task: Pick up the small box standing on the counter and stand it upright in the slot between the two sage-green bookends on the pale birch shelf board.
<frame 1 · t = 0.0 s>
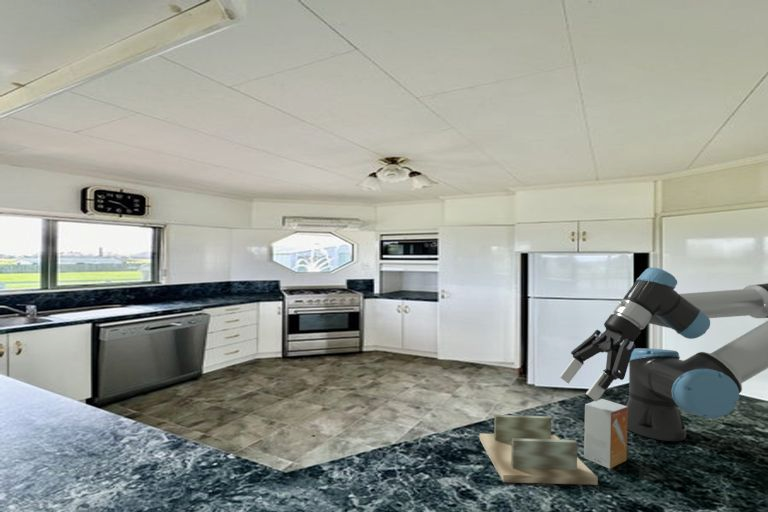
hand: (576, 388, 97), 15 cm above the countertop, tool tilted 35°, fingers open, 13 cm apart
small box: (605, 460, 92), on the countertop
bookend shelf: (532, 459, 91), on the countertop
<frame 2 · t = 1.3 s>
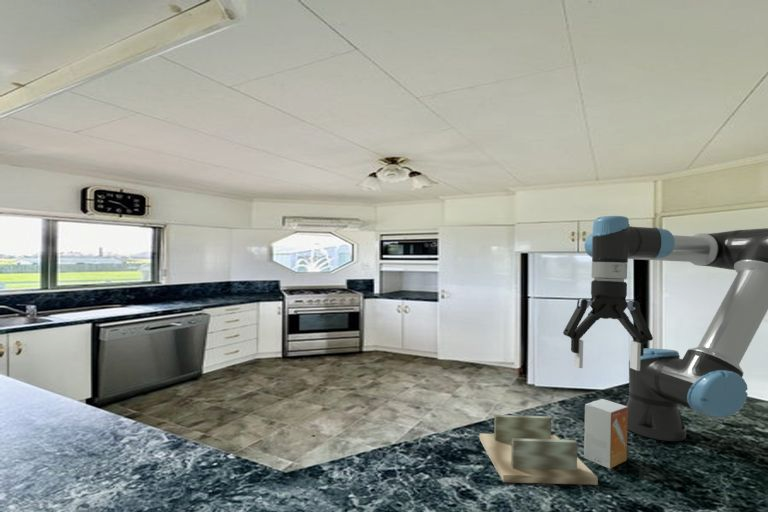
hand: (606, 368, 93), 22 cm above the countertop, tool pointing down, fingers open, 13 cm apart
nothing on the countertop moved.
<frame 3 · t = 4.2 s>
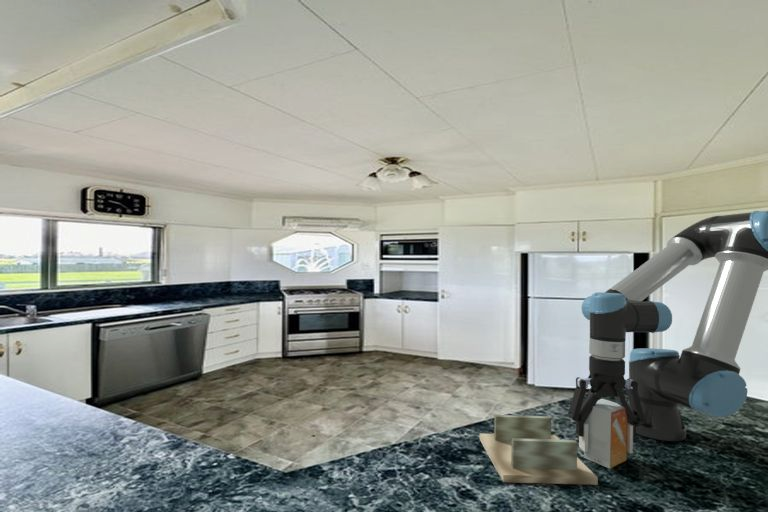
hand: (605, 450, 92), 2 cm above the countertop, tool pointing down, fingers closed on small box, 10 cm apart
small box: (605, 460, 92), on the countertop, touching gripper
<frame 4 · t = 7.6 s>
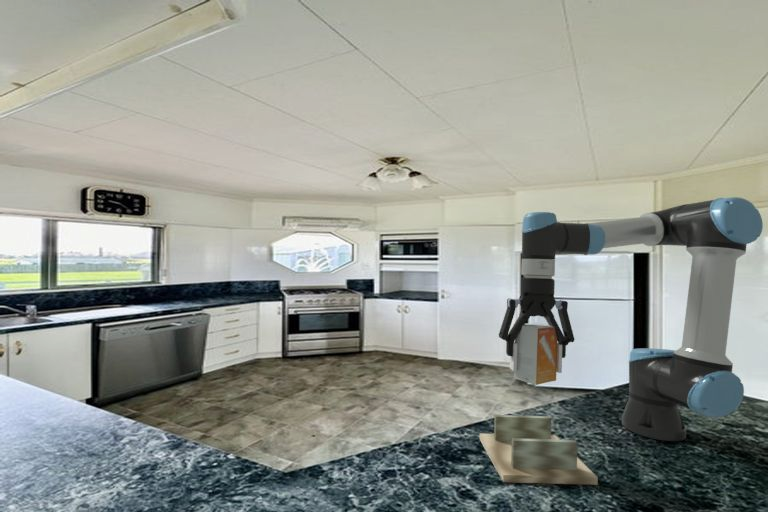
hand: (535, 370, 92), 21 cm above the countertop, tool pointing down, fingers closed on small box, 10 cm apart
small box: (535, 380, 92), point 19 cm above the countertop, touching gripper
when the fingers open (6 cm above the countertop, at t = 11.5 s): small box drops 2 cm, resting on bookend shelf.
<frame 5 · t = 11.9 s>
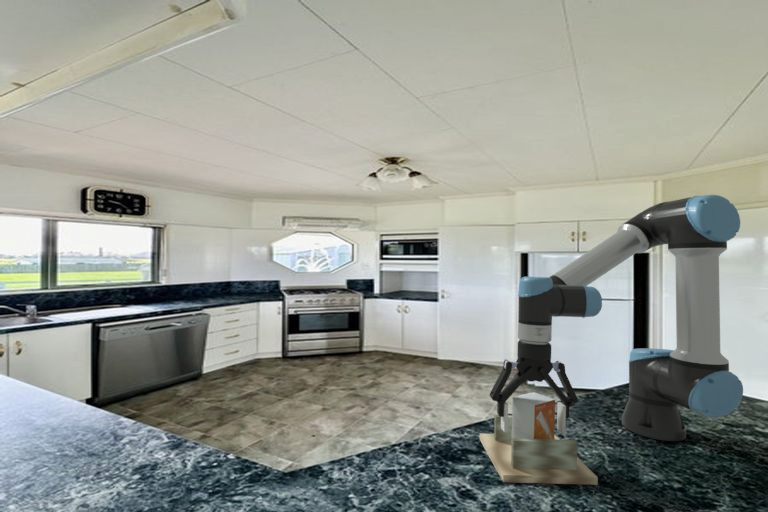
hand: (532, 431, 91), 7 cm above the countertop, tool pointing down, fingers open, 13 cm apart
small box: (532, 453, 91), point 1 cm above the countertop, touching bookend shelf
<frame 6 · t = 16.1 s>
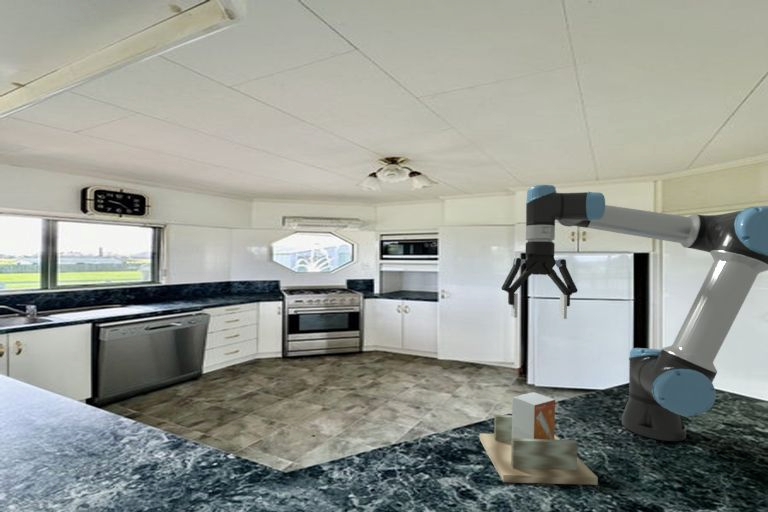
hand: (538, 317, 107), 32 cm above the countertop, tool pointing down, fingers open, 13 cm apart
nothing on the countertop moved.
at the end: small box 0.1 cm off-centre on the bookend shelf, point 1.3 cm above the bookend shelf's base; small box tilted 0°; the gripper is holding nothing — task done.
